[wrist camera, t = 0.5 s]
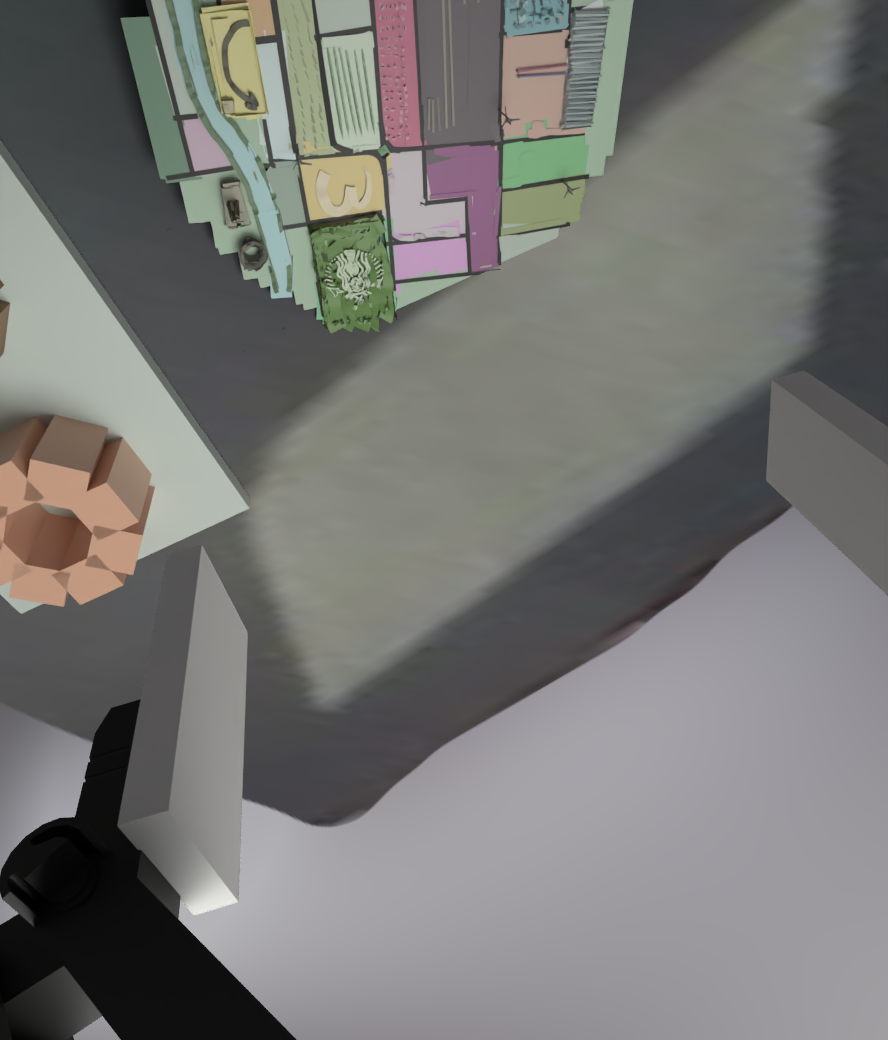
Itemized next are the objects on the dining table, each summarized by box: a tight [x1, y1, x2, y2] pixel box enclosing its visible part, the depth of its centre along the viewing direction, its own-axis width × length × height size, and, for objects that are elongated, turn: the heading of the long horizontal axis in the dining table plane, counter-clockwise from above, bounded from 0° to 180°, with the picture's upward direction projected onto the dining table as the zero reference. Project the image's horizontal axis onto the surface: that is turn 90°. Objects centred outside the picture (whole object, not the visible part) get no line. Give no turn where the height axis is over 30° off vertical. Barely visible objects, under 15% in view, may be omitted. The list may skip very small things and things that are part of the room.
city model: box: [120, 0, 633, 352], centre depth 35 cm, size 25×23×6 cm
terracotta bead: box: [0, 415, 155, 607], centre depth 40 cm, size 9×9×5 cm
